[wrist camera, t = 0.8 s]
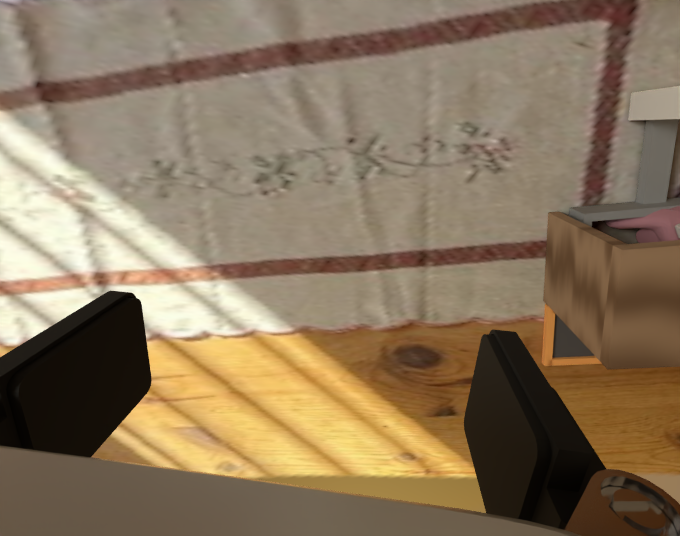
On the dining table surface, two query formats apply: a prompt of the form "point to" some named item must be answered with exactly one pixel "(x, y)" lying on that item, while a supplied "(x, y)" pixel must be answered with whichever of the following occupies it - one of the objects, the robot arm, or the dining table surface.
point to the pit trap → (563, 344)
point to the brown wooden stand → (615, 294)
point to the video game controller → (652, 225)
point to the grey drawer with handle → (646, 158)
